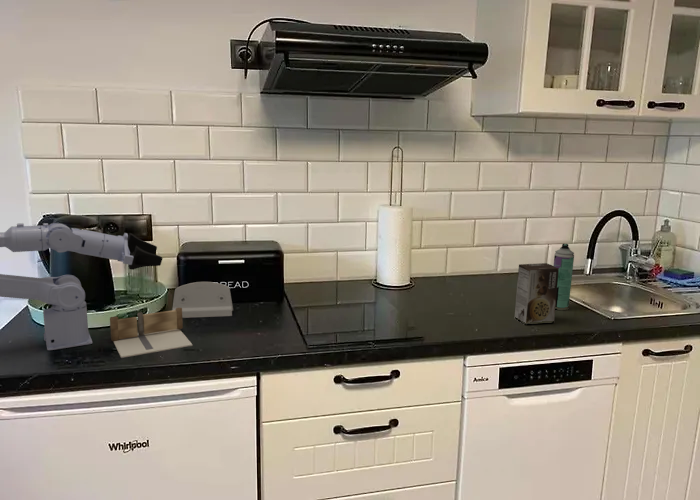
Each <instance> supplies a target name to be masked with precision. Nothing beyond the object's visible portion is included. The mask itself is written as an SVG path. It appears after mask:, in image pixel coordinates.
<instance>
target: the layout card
mask: <svg viewBox="0 0 700 500" xmlns="http://www.w3.org/2000/svg"><path fill="white" fill-rule="evenodd" d="M112 342H113V344H114V346H115V348H116V350H117V352H118V354H119V357H120V358H121V359H123V358H128V357H134V356H140V355H146V354H152V353H153V354H154V353H157V352H165V351H169V350H175V349H181V348H186V347H193V344H192V342H191V340H189V338H188V337H187V336H186V335H185V334H184V332H182V330H181V329H175V330H168V331H162V332H155V333H149V334H144V335H141V336H140V335H139V333H138V337H132V338H125V339H119V340H118V341H112Z"/></svg>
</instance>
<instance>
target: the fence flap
mask: <svg viewBox="0 0 700 500" xmlns="http://www.w3.org/2000/svg"><path fill="white" fill-rule="evenodd" d="M183 325H184V324H183V318H182V308H176V310H172V309H171V310H166V311H160V312H159V311H157V312H151V313H144V314H143V312H141V311H139V312H137V331H138V333H139V335H140V336H141V335H144V334H149V333H155V332H162V331H168V330H175V329H180V330H181V329H184V326H183Z"/></svg>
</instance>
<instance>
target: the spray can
mask: <svg viewBox="0 0 700 500" xmlns="http://www.w3.org/2000/svg"><path fill="white" fill-rule="evenodd" d="M553 258H554V259H553V266H554V267H556V268H559V272H558V283H557V295H556V306H555V307H558V308H565V307H568V306H569V307H570V298H571V288H572V279H573V270H574V260H575V252H574V251H573V250H571V248H570V247H569V244H568V243H562V244H561V247H559V249H557V250H555V253H554V257H553Z"/></svg>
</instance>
